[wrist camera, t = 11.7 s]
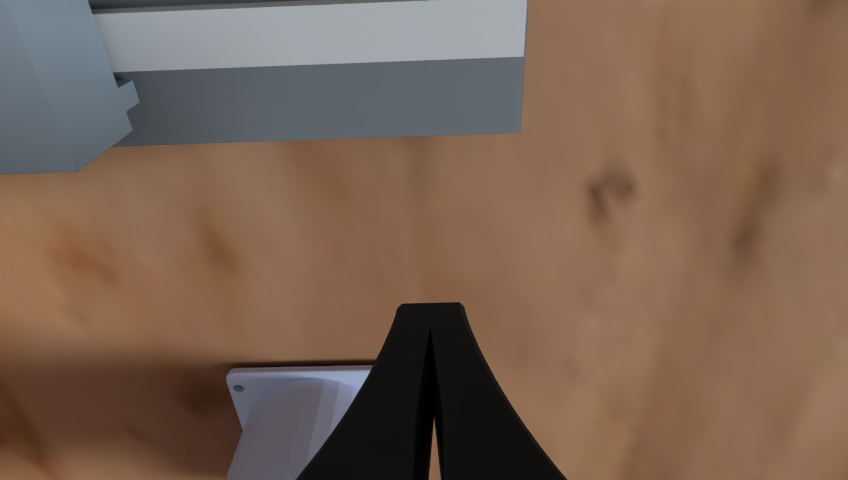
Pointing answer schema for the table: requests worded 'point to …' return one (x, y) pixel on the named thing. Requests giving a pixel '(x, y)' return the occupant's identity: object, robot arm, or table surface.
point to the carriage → (56, 88)
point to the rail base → (315, 68)
